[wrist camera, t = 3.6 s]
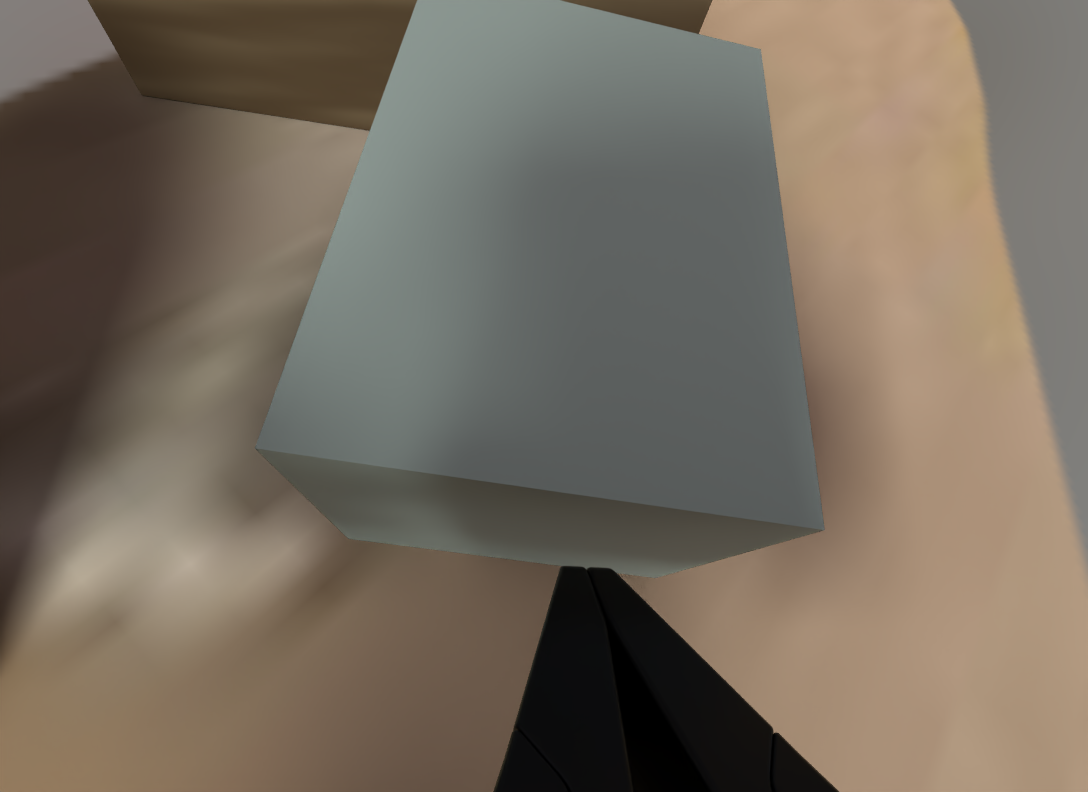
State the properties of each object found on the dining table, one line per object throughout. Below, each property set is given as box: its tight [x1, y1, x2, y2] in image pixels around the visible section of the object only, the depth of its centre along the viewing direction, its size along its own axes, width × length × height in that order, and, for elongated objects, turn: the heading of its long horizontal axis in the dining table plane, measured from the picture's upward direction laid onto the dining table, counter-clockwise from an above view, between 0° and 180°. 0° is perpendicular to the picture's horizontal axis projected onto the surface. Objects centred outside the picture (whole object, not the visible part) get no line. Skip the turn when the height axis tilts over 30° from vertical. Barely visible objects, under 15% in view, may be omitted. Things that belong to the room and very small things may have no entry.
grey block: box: [255, 0, 825, 578], centre depth 14 cm, size 13×9×8 cm
